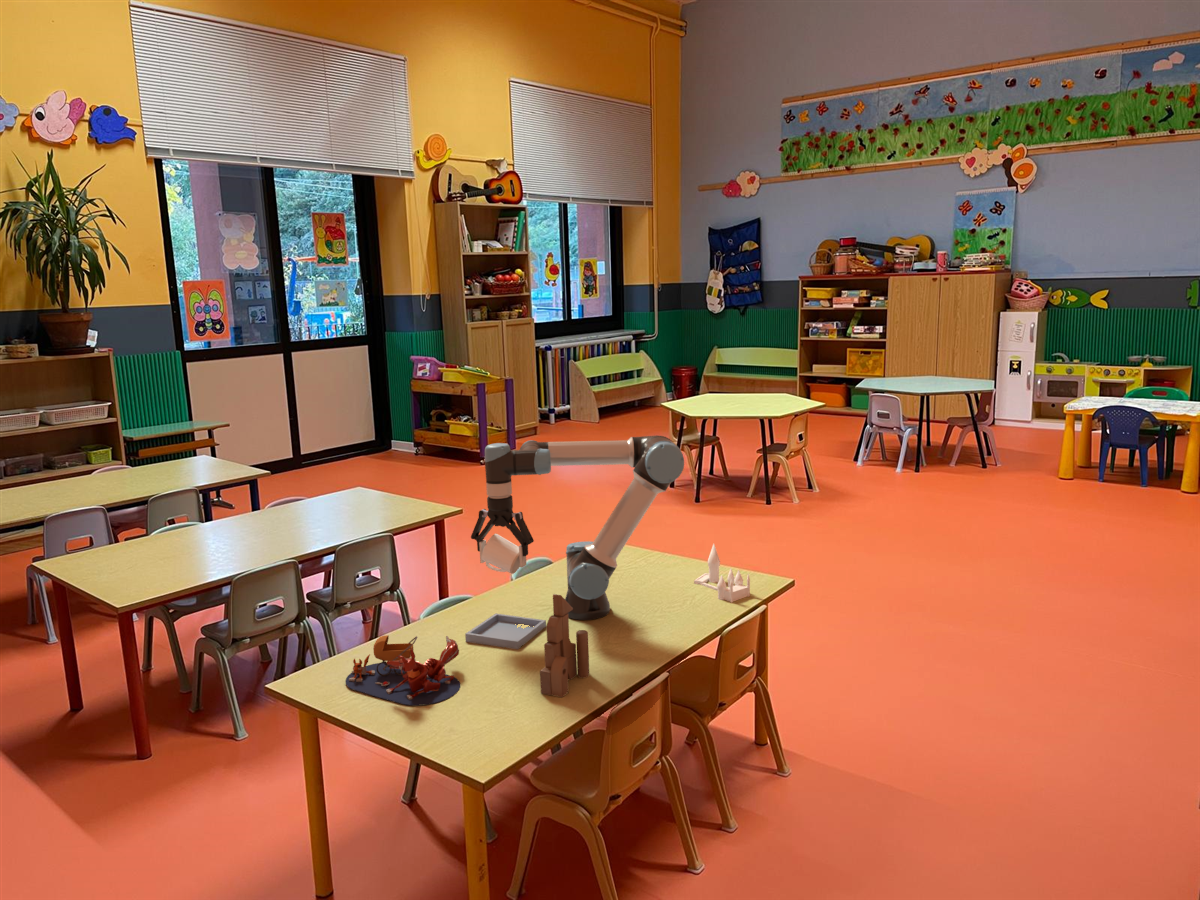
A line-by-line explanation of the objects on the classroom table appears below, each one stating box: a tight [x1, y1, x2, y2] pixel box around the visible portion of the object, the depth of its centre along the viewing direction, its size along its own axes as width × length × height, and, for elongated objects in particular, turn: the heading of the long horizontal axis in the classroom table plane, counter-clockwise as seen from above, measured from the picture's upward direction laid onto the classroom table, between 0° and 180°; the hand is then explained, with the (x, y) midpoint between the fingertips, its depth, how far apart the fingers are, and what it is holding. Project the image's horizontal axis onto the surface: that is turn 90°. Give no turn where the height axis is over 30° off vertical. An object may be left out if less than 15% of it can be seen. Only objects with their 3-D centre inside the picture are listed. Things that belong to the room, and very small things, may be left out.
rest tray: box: [464, 613, 547, 650], centre depth 272 cm, size 18×18×3 cm
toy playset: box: [345, 635, 461, 707], centre depth 243 cm, size 35×26×14 cm
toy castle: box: [693, 543, 751, 603], centre depth 301 cm, size 14×25×16 cm, turn 37°
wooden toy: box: [539, 593, 590, 698], centre depth 235 cm, size 16×7×25 cm, turn 152°
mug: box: [482, 533, 521, 575], centre depth 268 cm, size 11×9×10 cm
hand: (503, 564), depth 268 cm, fingers closed on mug, 13 cm apart
